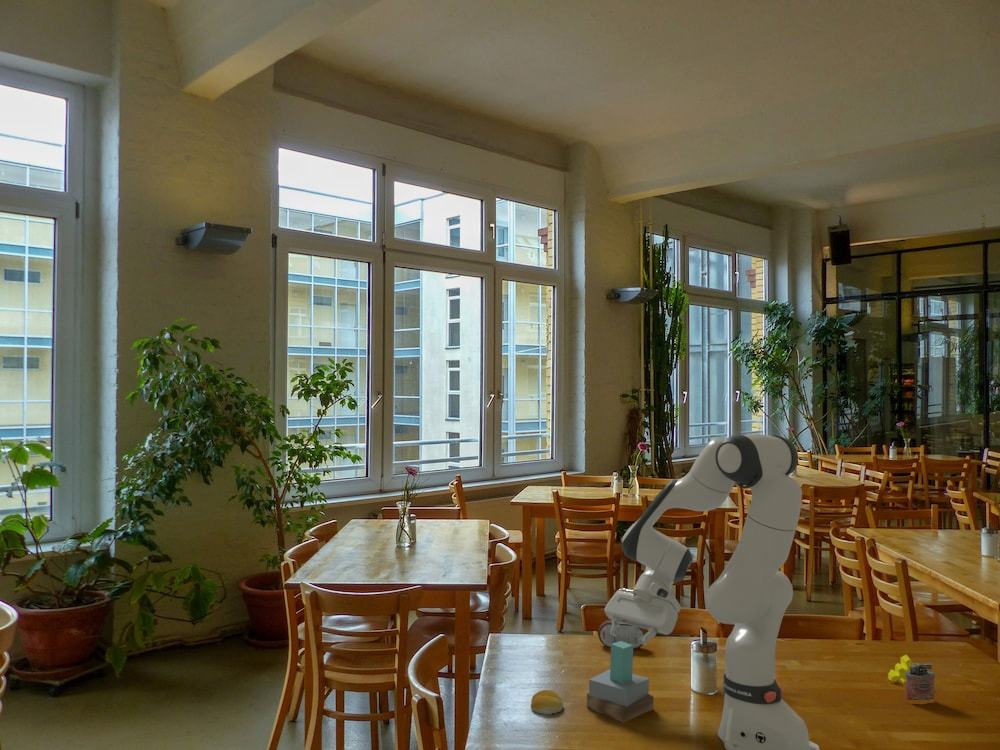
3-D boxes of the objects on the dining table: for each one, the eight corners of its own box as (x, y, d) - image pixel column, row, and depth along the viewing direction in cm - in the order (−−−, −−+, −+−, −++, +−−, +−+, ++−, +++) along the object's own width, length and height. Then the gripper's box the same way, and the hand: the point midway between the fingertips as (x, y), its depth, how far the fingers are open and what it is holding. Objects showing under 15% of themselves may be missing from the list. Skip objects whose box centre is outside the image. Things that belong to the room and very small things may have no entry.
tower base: (653, 711, 199) (653, 695, 199) (623, 724, 191) (623, 708, 191) (616, 697, 208) (616, 682, 208) (586, 709, 199) (587, 693, 200)
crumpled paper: (883, 678, 222) (883, 651, 222) (908, 677, 223) (909, 650, 223) (896, 686, 216) (896, 658, 216) (922, 685, 217) (922, 657, 217)
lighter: (910, 705, 203) (910, 666, 203) (901, 700, 206) (901, 662, 207) (938, 703, 204) (938, 665, 205) (929, 698, 208) (929, 661, 208)
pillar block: (632, 680, 199) (633, 645, 199) (622, 684, 196) (623, 648, 196) (619, 675, 201) (620, 640, 201) (609, 679, 199) (611, 644, 199)
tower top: (648, 694, 200) (648, 678, 200) (626, 707, 191) (626, 690, 192) (612, 682, 207) (612, 667, 207) (589, 695, 199) (589, 679, 199)
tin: (645, 647, 246) (646, 621, 246) (646, 651, 243) (646, 624, 243) (598, 644, 249) (598, 618, 249) (597, 647, 246) (597, 621, 246)
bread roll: (530, 715, 195) (530, 699, 195) (531, 701, 204) (532, 685, 204) (563, 716, 194) (563, 700, 194) (563, 702, 203) (563, 687, 203)
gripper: (613, 580, 214) (590, 623, 207) (676, 595, 199) (654, 641, 192) (623, 593, 217) (601, 636, 210) (686, 609, 202) (664, 655, 195)
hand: (627, 639), depth 201 cm, fingers open, 8 cm apart
